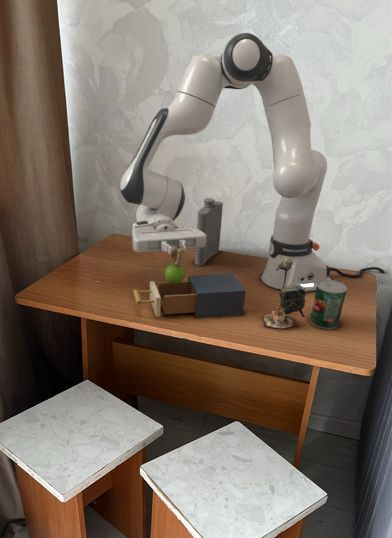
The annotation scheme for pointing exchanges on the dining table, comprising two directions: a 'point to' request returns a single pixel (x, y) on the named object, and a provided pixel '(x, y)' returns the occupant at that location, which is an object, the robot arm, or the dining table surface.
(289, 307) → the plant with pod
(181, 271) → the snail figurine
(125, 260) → the dining table surface
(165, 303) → the drawer
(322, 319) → the canned tomato
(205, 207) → the hip flask
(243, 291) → the cabinet
